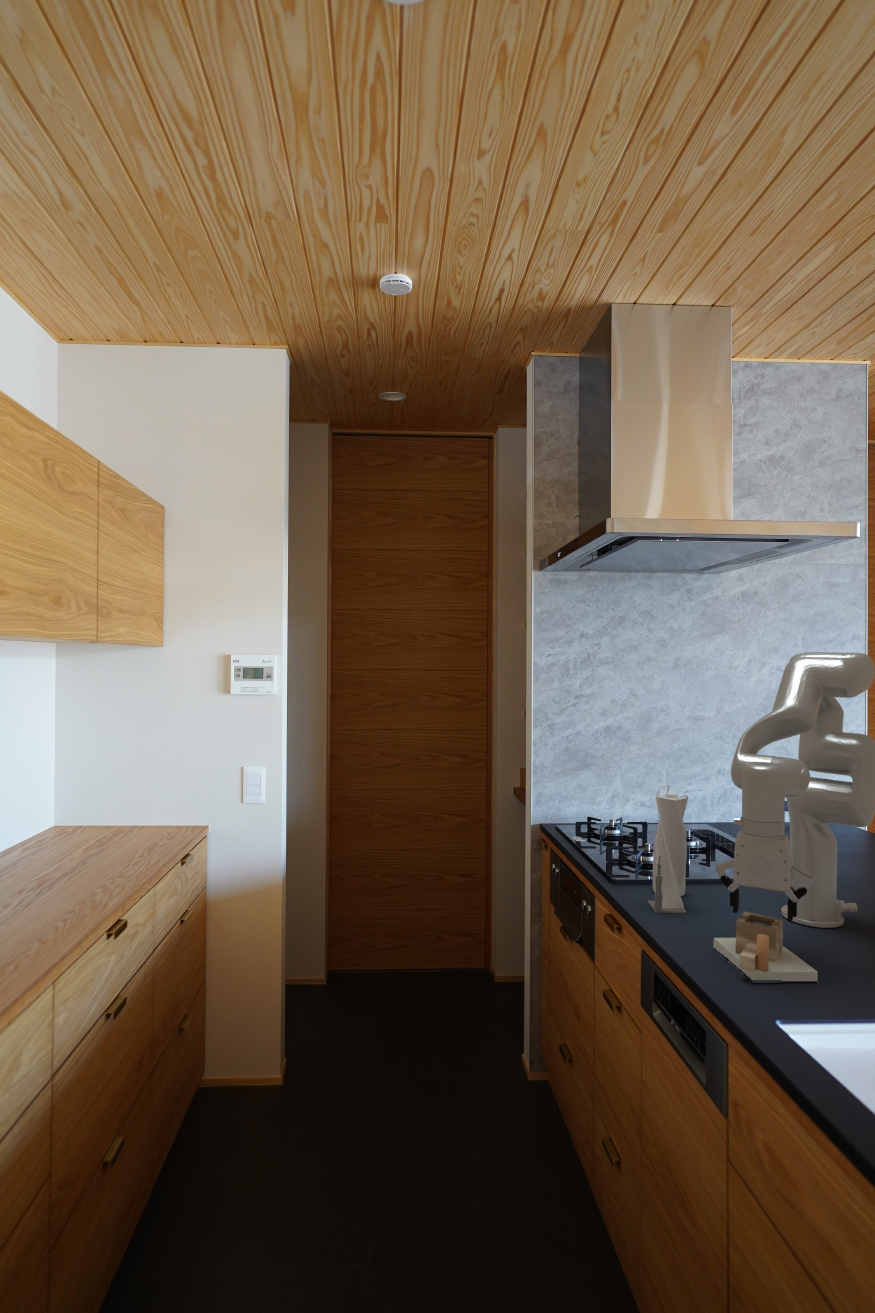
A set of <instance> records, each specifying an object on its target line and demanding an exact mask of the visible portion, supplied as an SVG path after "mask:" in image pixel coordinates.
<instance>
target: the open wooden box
mask: <svg viewBox="0 0 875 1313" xmlns="http://www.w3.org/2000/svg"><path fill="white" fill-rule="evenodd" d="M753 920H761V921H765V922H768V923H769V924H770V927H769V926H765V925H760V924H755V923H752V921H753ZM735 923H736V924H735V938H736V953H738V954H740V968H739V969H743V970H747V971H751V972H754V971H755V969H756V959H757V934H765V935H767V936H769V961H771V962H776V960H777V959H778V957H779V955H780V954H781V952H782V950H783V946H784V945H783V944H784V919H783V918H778V917H774V916H767V915H764V914H759V913H753V912H751V911H750V912H749V911H744V912H742V914H741V915H740V916H739V917H738V919H737V920H736V921H735Z"/></svg>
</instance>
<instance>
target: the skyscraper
mask: <svg viewBox="0 0 875 1313" xmlns="http://www.w3.org/2000/svg"><path fill="white" fill-rule="evenodd" d="M670 786H671V785H669V784H664V785H662V786H661V787H660V788H659V789H658V790H657V793H656V796H655V801H656V807H657V813H658V817H659V818H658V824H657V827H656V828H657V829H656V836H655V838H656V872H657V874H656V891H655V892H654V900H647V904H648V905H649V906H650V908H651V909H652V910H653V911H654V913H655V914H657V913H659V914H685V915H686V914H687V910H686V909H685V907H684V903H683V900H682V896H680V892H681V888H682V884H683V879H684V873H685V867H687V854H688V852H687V850H688V847H687V844H688V843H687V835H686V828H685V824H684V820H683V819H684V816H685V811H686V809H687V808H686V807H687V805H688V800H689V796H688V795H687V794H683V795H680V796H679V794H678V792H677V793H676V792H670ZM664 788H667V790H666V792H665V793H664V795H659V794H660V791H661V790H662V789H664Z"/></svg>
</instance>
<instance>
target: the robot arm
mask: <svg viewBox="0 0 875 1313" xmlns="http://www.w3.org/2000/svg"><path fill="white" fill-rule="evenodd" d="M874 679H875V664H874V661H873V660H872V657H871V656H869V655H868V654H867V653H865V652H830V651H815V652H814V651H813V652H801V653H797V654H794V655H793V656H792V657H790V659H789V661H788V663H787V664H786V666H785V667H784V670H783V673H782V676H781V680H780V683H779V687H778V690H777V693H776V697H775V700H774V704H773V707H772V709H771V711H770V712H769V713H767V714H765V715H764V716H762V717H761V718H759V719H758V720H757V721H755V722H754V723H753V724H752V725H751V726H749V727H748V728H747V729H746V730H745V731H744V732H743V733H742V735H741V737H740V738H739V740H738V743H737V745H736V749H735V752H734V755H733V758H732V763H731V767H730V776H731V777H730V778H731V781H732V783H733V785H734V786H736V787H737V788H738V789H740V790H741V817H737V818H736V817H734V818H733V825H734V826H738V827H739V828H740V829H741V830H739V831H737V834H736V838H735V845H734V853H733V854H734V855H733V856H734V857H733V859H729V860H726V861H724V862H721V863H718V864H716V865H715V867H714V869H715V871H716V874H717V876H718V877H719V879H720V882H721V883H722V884H723V885H724V886H725V887H726V888H727V891H728V892H729V907H731V908H732V913H733V914H736V913H738V911H739V910H740V889H739V887H740V886H741V887H748V888H753V889H759V890H766V891H771V892H780V893H783V892H784V893H785V895H787V897H788V900H787V904H785V905H783V906H782V907H781V908H780V913H781V916H783V918H784V919H787V922H788V923H790V924H791V923H797V924H799V925H803V926H807V927H808V926H809V927H814V928H823V929H824V928H826V929H830V928H831V929H832V928H834V929H835V928H839V927H842V926H843V925H844V923H845V919H844V916H843V915H842V914H844V913H845V912H848V913H856V912H858V910H859V907H858V905H857V903H856V902H845V900H839V899H837V890H838V889H837V885H838V884H837V883H838V882H837V881H838V880H837V877H838V875H837V874H838V842H837V838H836V836H835V834H834V833H833V831H832V830H831V828H830V827H829V825H828V824H835V825H841V826H848V827H854V828H866V827H868V826H870V825H871V824H872V823H873V821H874V817H875V739H874V738H873V737H872V736H870V735H867V734H863V733H858V732H857V733H855V732H844V729H843V728H844V715H845V714H844V710H843V707H842V705H841V704H840V702H839V701H838V699H836V698H843V699H844V698H845V699H846V698H847V699H849V698H855V697H858V696H859V695H861V694H862V693H865V692H866V691H868V690H869V688H870V687H871V686H872V684H873V682H874ZM798 735H799V740H798V742H799V743H798V759H796V758H792V757H783V756H775V755H766V754H758V753H759V752H760V751H761V750H762V749H763V748H765V747H766V746H768V745H770V744H772V743H775V742H778V741H781V740H785V739H789V738H792V737H795V736H798ZM810 771H811V772H815V773H824V774H830V775H839V776H848V777H850V778H851V781H847V780H846V781H844V780H837V779H829V778H822V777H814V776H813V777H812V776H811V773H810ZM786 804H787V810H788V817H789V819H788V820H789V835H788V834H785V833H786V832H785V830H786V820H785V818H786V817H785V815H786V814H785V813H786V810H785V809H786ZM729 869H733V871H732V872H733V873H732V874H733V875H732V876H733V879H731V878H730V877H729V876H728V875H727V873H726V871H727V870H729Z"/></svg>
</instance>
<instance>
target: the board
mask: <svg viewBox="0 0 875 1313" xmlns="http://www.w3.org/2000/svg"><path fill="white" fill-rule="evenodd" d="M714 948H715V949H716V950H717V952H718V951H719V952H720V953H721V954H723V955H724V956H725V957H727V958H728V959H729V960H730V961H731V962H732V963H733V964H735V965H736V966H737V967H738V968H740V954H738V953H736V937H714V938H713V949H714ZM715 949H714V950H715ZM716 950H715V951H716ZM719 952H718V953H719ZM720 953H719V954H720ZM721 954H720V955H721ZM741 970H742V971H743V972H744V973H746V975H747V976H749V977H750V978H751V979H752V980H782V981H817V982H818V976H819V974H818V971H817V970H816V969H815V968H814V967H812V966H810V965H809V964H808V963H806V961H804V960H803V959H801V958H800V957H799V956H797V955H796V954H794V953H793V952H792V951H791V950H789V949H787V947H785V946H784V945H783V950H782V952H781V954H780V955H779V957H778V959H777V960H776V962H771V961H769V965H768V971H766V972H764V971H759V970H757V969H755V971H754V972H751V971H747V970H743V969H741Z"/></svg>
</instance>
